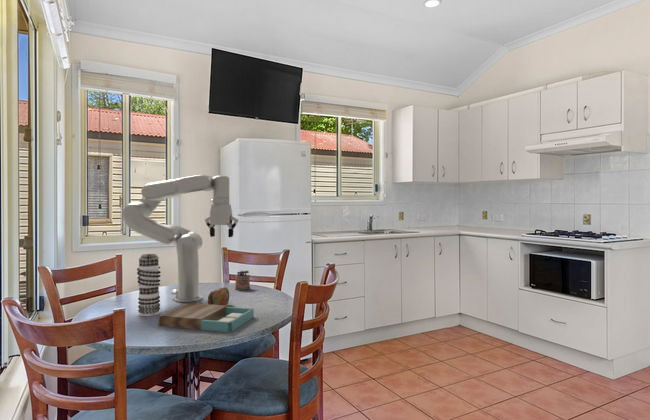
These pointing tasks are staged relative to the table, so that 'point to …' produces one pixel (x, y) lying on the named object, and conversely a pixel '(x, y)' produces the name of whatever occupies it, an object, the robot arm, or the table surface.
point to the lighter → (242, 280)
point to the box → (231, 325)
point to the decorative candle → (148, 285)
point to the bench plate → (191, 315)
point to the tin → (219, 297)
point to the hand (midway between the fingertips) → (221, 236)
